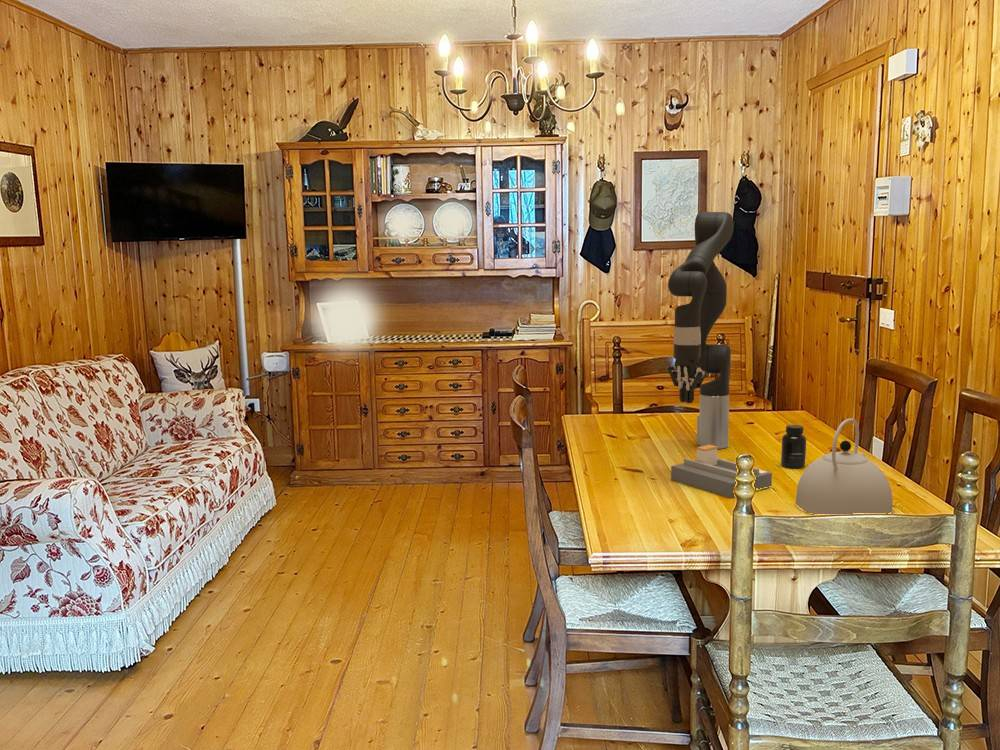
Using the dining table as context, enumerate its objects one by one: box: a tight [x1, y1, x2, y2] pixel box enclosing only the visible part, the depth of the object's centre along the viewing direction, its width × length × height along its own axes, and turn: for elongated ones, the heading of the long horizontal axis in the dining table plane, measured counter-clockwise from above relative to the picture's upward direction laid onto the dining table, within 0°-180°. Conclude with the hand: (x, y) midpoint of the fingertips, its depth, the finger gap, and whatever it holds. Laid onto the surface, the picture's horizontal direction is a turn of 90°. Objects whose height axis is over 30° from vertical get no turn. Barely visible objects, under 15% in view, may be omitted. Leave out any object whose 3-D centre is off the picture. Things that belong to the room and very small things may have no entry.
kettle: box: [795, 417, 893, 516], centre depth 217 cm, size 25×23×22 cm
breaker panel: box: [670, 457, 773, 499], centre depth 239 cm, size 22×16×6 cm
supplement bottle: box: [780, 424, 807, 469], centre depth 254 cm, size 7×7×12 cm
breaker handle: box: [696, 445, 718, 465], centre depth 243 cm, size 3×5×5 cm, turn 124°
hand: (686, 402), depth 247 cm, fingers closed
